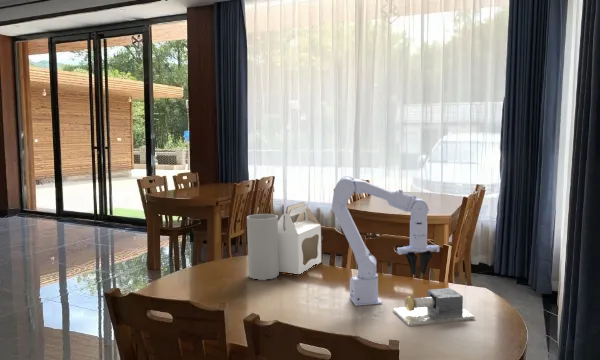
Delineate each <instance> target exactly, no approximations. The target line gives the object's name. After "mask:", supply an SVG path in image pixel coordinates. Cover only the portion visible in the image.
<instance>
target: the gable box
mask: <svg viewBox="0 0 600 360" xmlns="http://www.w3.org/2000/svg"><path fill="white" fill-rule="evenodd" d="M308 206H309V204H306V202H305V201H302V202H298V203H295V204H292V205H291V204H290V205H288V206H287V207H286V212H285V213H283V214H282V215H281V216H280V218H278V254H279V271H280V272H288V273H294V274H301V273H302V274H304V273H305V272H304V271H306V270H307V271H309V270H310V269H309V268H311V267H312V266H313V265H315V264H317V265H319V264H321V263H322V225H321V223H320V222H319V220H318V219H317V217H316V216H315V215H314V213H313V212H312V210H311V209H310V208H308ZM296 215H298V217H297V218H296V221H295V222H293V219H292V217H294V216H296ZM303 262H305V263H306V264H305V265H304V264H303ZM312 268H313V267H312ZM312 268H311V269H312ZM308 269H309V270H308ZM307 271H306V272H307ZM303 272H304V273H303ZM302 274H301V275H302Z"/></svg>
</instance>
